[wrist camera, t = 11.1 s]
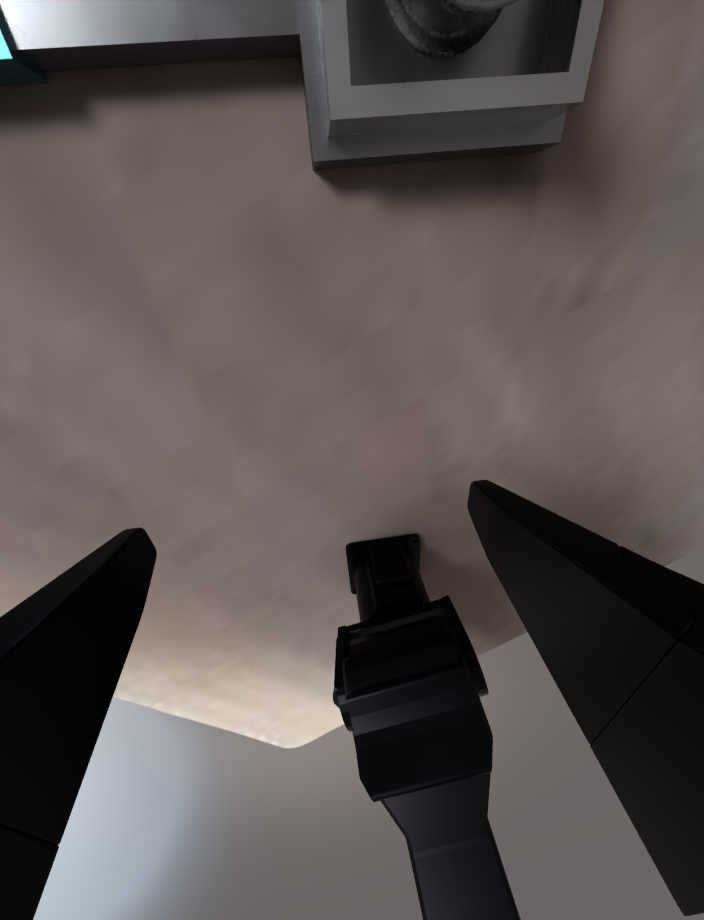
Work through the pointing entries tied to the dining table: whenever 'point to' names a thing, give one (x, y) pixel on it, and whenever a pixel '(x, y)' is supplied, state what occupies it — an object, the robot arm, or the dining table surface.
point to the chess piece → (444, 23)
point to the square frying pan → (340, 67)
